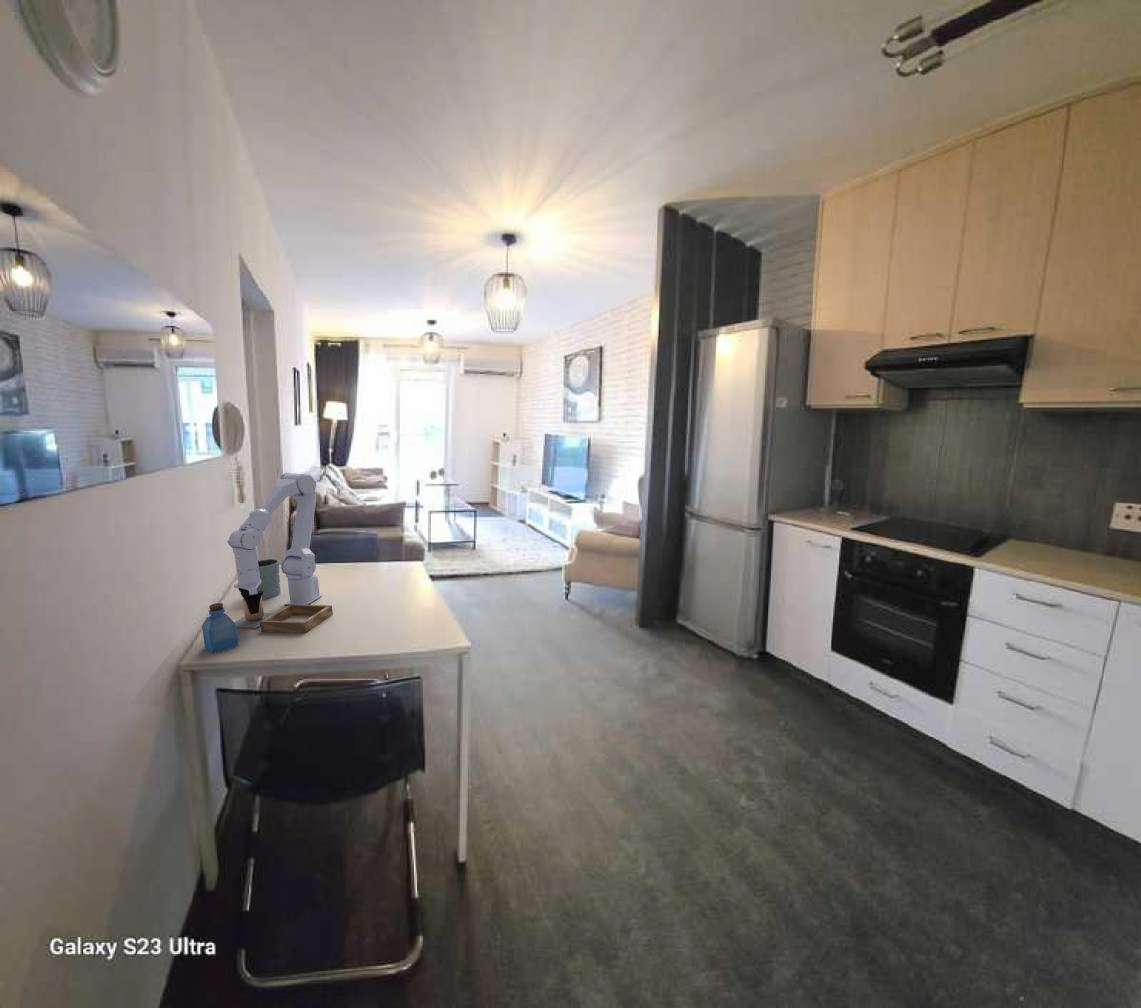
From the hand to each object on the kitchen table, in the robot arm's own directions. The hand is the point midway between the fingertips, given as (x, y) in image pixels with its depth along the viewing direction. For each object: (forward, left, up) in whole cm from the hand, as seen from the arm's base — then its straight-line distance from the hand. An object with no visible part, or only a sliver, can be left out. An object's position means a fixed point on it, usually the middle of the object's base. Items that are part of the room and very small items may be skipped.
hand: (253, 610), depth 154 cm
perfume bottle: (+17, +3, -4) cm, 18 cm away
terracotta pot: (0, 0, -2) cm, 2 cm away
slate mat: (0, 0, -3) cm, 3 cm away
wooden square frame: (0, +14, -3) cm, 15 cm away
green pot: (-22, -13, -4) cm, 26 cm away
